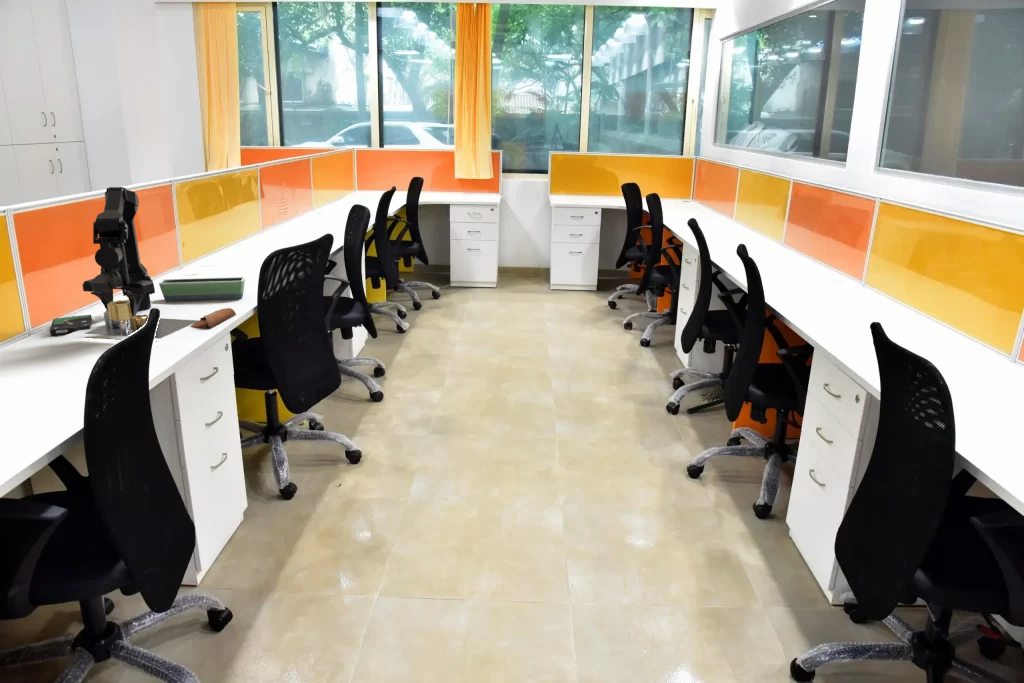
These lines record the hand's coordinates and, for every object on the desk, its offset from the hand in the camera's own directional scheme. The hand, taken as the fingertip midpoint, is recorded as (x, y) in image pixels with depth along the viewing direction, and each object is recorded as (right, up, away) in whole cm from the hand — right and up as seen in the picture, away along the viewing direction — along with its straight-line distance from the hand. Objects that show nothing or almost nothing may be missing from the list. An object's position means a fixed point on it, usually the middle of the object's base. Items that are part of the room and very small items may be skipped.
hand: (122, 315), depth 208 cm
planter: (+3, +7, +49) cm, 49 cm away
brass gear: (0, -1, 0) cm, 1 cm away
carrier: (+2, -4, +9) cm, 10 cm away
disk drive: (-20, -4, +10) cm, 23 cm away
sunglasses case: (+19, -3, +16) cm, 25 cm away
